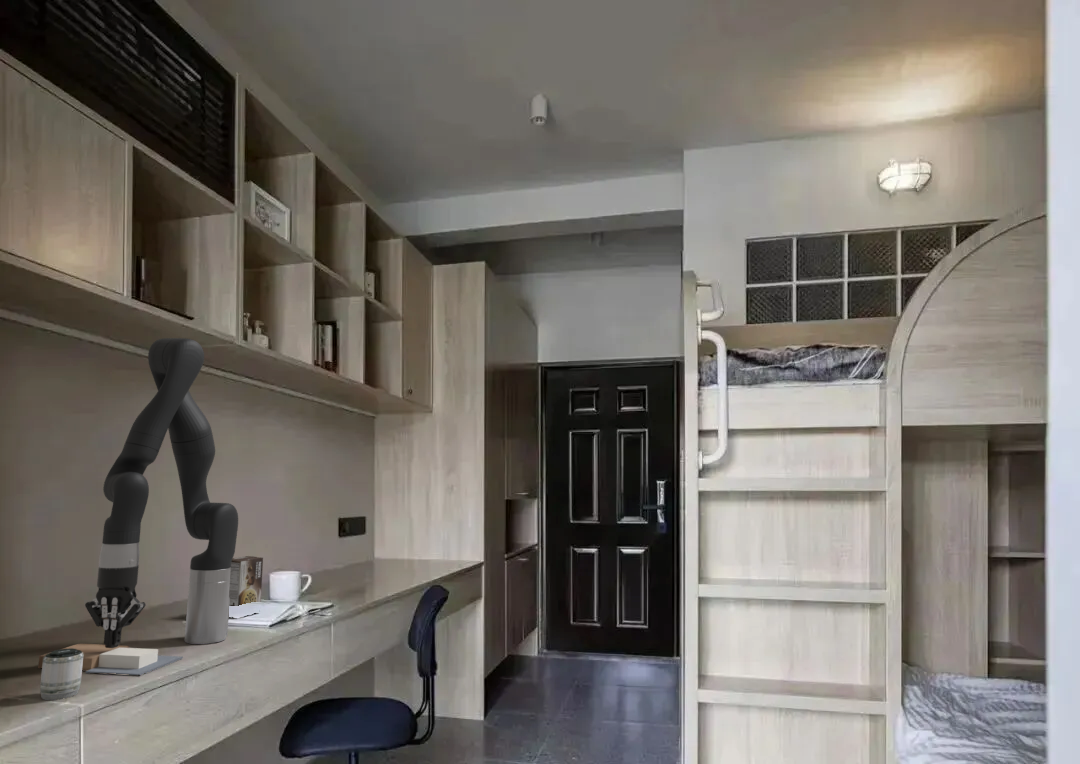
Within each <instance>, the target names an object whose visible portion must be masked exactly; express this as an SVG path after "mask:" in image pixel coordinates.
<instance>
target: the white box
mask: <svg viewBox="0 0 1080 764" xmlns="http://www.w3.org/2000/svg"><path fill="white" fill-rule="evenodd" d="M158 655H159V648H158V649H157V648H139V647H138V648H137V647H129V648H117V649H114V650H111V651H108V652H105V653H102V654H100V655H99V666H98V667H111V668H131V669H139V668H142V667H144V666H147V665H149V664H152V663H154V662H157V658H158Z"/></svg>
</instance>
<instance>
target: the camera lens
mask: <svg viewBox="0 0 1080 764" xmlns="http://www.w3.org/2000/svg"><path fill="white" fill-rule="evenodd" d="M50 652H51V653H50ZM50 652H47V653H48V654H47V653H46V654H47V655H45V657H44V658H43V664H42V669H41V676H40V686H39V688H40V691H39V692H40V695H41V697H40V698H41V700H44V701H45V700H46V701H57V700H56V699H59V700H64V699H63V698H65V699H68V698H67V697H69V698H72V697H74V696H73V695H75V696H77V695H78V694H77V693H79V689H80V688H81V683H82V675H83V674H82V673H83V671H82V666H83V656H84V654H83V652H82V651H80V650H77V649H73V648H69V649H63V648H61V650H60V649H55V650H52V651H50ZM76 694H77V695H76ZM71 696H72V697H71Z"/></svg>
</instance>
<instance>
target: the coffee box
mask: <svg viewBox="0 0 1080 764" xmlns="http://www.w3.org/2000/svg"><path fill="white" fill-rule="evenodd" d="M263 565H264V557H258V556H253V555H250V556H249V555H248V556H240V557H239V556H238V557H233V559H232V562H231V571H230V587H229V598H230V604H229V606H239V605H242V604H246V603H251V602H261V603H262V589H263V588H262V586H263V568H264V566H263Z"/></svg>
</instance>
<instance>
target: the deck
mask: <svg viewBox="0 0 1080 764" xmlns="http://www.w3.org/2000/svg"><path fill="white" fill-rule="evenodd" d="M69 648H73V649H77V650H80V651H82V652H83V654H84V656H83V666H82V670H90V669H93V668H96V667H98V666H99V655H100V654H102V653H105V652H108V651H111V650H114V649H117V648H130V646H129V645H120V644H119V645H118V646H117V647H115V648H106V647H105V645H104V644H98V643H97V644H96V643H77V644H73V645H70V646H67V647H64V648H61V649H69ZM61 649H59V650H61ZM51 652H52V651H50V652H47V653H44V654H42V655H39V657H38V664H37V668H38V669H40V668H42V664H43V658H44V657H45V655H47V654H48V653H51Z"/></svg>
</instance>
